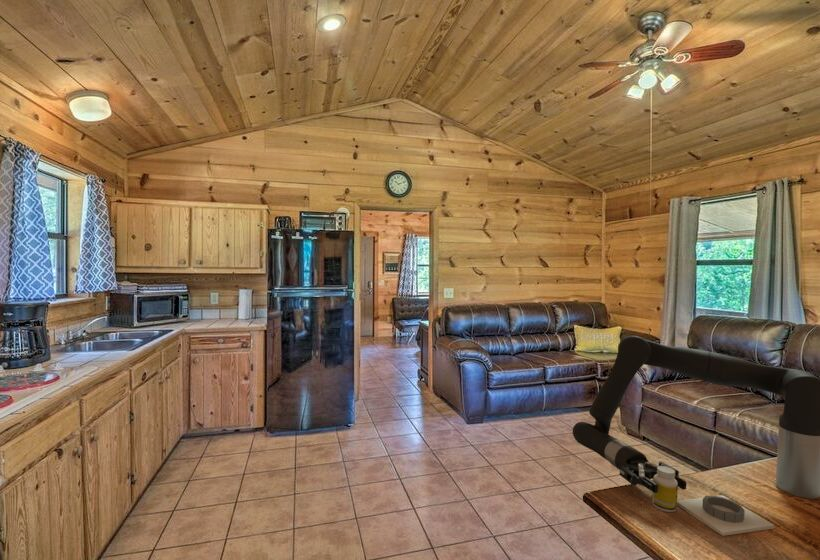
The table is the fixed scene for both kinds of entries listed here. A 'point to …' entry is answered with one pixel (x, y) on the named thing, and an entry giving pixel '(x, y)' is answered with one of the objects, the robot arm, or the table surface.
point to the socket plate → (723, 525)
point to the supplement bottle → (665, 489)
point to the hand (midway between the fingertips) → (671, 487)
